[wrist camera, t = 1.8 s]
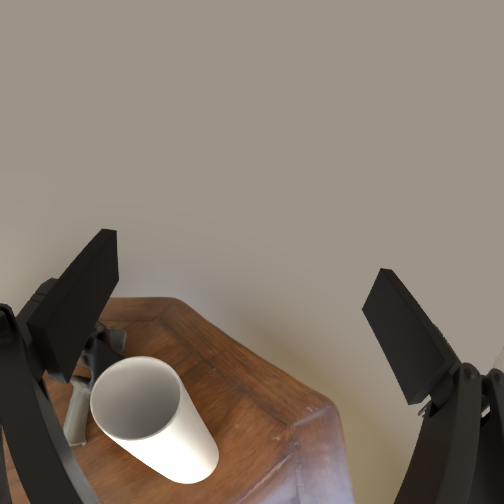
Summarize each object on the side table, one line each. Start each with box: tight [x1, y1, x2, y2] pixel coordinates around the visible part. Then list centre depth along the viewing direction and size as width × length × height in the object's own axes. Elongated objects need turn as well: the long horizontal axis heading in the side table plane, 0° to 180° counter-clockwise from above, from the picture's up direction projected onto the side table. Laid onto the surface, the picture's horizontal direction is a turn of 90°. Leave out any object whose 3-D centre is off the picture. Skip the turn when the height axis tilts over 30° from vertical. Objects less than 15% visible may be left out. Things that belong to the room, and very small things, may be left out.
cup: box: [90, 356, 219, 483], centre depth 23 cm, size 8×8×16 cm
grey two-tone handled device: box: [63, 321, 127, 446], centre depth 31 cm, size 21×6×12 cm, turn 169°
